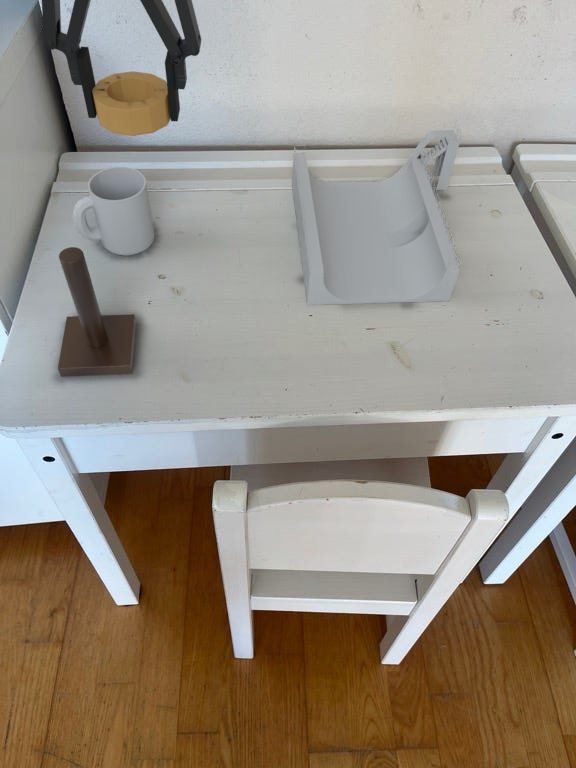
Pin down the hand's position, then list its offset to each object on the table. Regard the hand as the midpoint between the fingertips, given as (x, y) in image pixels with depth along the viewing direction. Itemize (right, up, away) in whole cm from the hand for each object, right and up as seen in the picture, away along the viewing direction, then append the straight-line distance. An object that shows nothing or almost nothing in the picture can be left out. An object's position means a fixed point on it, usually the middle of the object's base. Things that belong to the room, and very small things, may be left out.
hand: (135, 113), depth 72 cm
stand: (-5, -27, +3) cm, 27 cm away
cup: (-6, -11, +15) cm, 19 cm away
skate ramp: (+30, -10, +17) cm, 36 cm away
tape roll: (0, 0, 0) cm, 0 cm away
